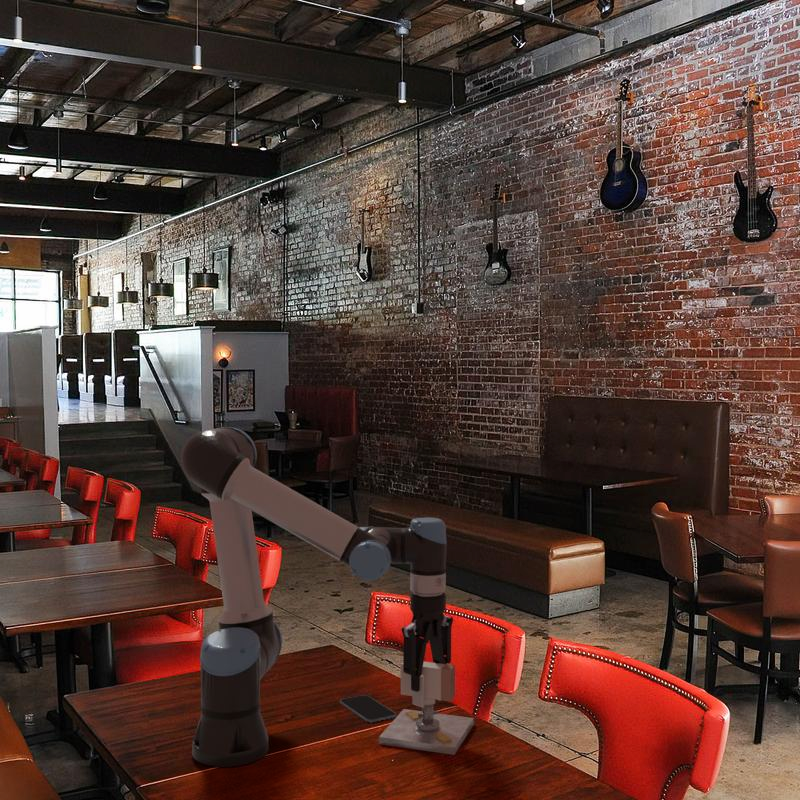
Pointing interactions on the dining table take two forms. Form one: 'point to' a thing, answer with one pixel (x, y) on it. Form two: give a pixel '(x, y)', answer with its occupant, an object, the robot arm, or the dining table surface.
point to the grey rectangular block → (432, 682)
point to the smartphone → (367, 708)
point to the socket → (427, 731)
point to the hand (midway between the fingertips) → (427, 701)
